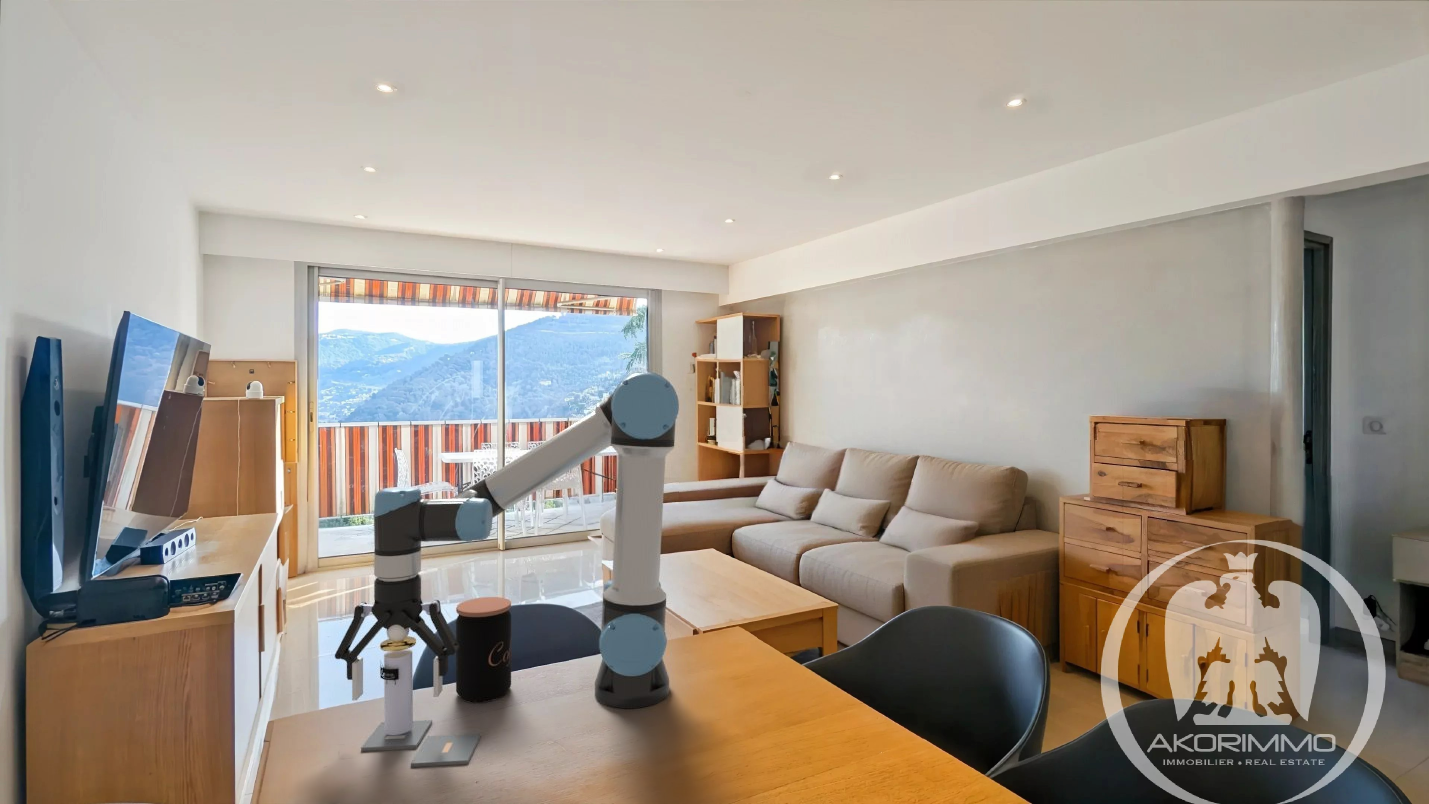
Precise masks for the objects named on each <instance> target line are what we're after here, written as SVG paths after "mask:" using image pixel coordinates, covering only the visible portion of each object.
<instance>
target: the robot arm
mask: <svg viewBox="0 0 1429 804" xmlns="http://www.w3.org/2000/svg"><path fill="white" fill-rule="evenodd" d="M678 396H679V395H677V391H676V390H675V388H674V386H673V385H672V384H671V383H670V381H669V380H668V379H666V378H665V377H664V376H662V375H660V374H658V373H656V372H649V371H643V372H642V371H640V372H639V371H637V372H634V373H632V374H629V375H627V376H626V377H625V378H623V379H622V380H621V381H620V382H619V384H617V386H616V387H615V389H614V391H613V392H612V393H611V394H610V395H609V396H607V397H606V398H605V399H603V400H601V401H599V402H598V403H597V404H596V406H595V410H594V411H593V412H591V413H590V414H588V415H586V416H584V417H583V418H581V419H580V420H578V421H576V422H574V424H572V425H570V426H568V427H566V428H565V429H563V430H561V431H560V432H558V433H556V435H554V436H552V437H551V438H549V439H547V440H545V441H543V442H541V443H540V444H539V445H537V446H535V447H534V448H532V449H531V450H529V451H527V452H526V453H523V454H522V455H521V456H519V457H517V458H515V459H514V460H513V461H511V462H509V463H508V464H506V465H504V466H502V467H501V468H500V469H498V470H496V471H495V472H493V473H491V474H490V475H488V476H486V477H485V478H484V479H482V480H480V481H478V482H476V483H475V484H474V485H472V486H469V487H467V488H466V489H464V490H463V491H461V492H459V494H457V495H455V496H453V497H452V498H432V499H431V498H423V496H422V492H421V491H422V490H421V488H419V487H416V486H396V487H394V486H393V487H387V488H386V487H385V488H382V489H380V490H379V491H377V492H376V493H375V498H374V512H373V517H372V518H373V533H374V534H373V535H374V537H373V538H374V554H373V555H374V556H373V557H374V560H373V564H374V566H373V567H374V568H373V571H374V572H373V575H374V576H375V577H376V578H375V580H373V581H374V583H373V587H374V588H373V589H374V591H373V592H374V594H373V597H374V603H373V604H368V603H367V602H366V601H362V602H360V603H359V604H358V605H356V606H355V607H354V611H353V619H352V620H351V622H350V625H349V627H348V628H347V631H346V632H345V634H344V636H343V638H342V640H341V641H340V643H339V646H338V648H337V650H336V652H335V654H334V659H336V660H343V661H345V662H346V678H347V680H348V681H351V684H352V685H351V688H352V690H351V693H352V694H351V696H352V697H351V701H359V698H360V697H361V696H362V695H363V694H364V657H362V656H360V654H361V653H362V652H363V650H364V649H365V648H366V647H367V646H368V645H369V643H370V642H372V640H373V639H374V638H375V637H376V635H377V634H379V632H380V631H381V630H382V628H384V629H386V631H387V630H388V629H389V628H390V627H391V626H393V625H400V626H401V627H403V628H404V630H405V629H406V628H409V630H410V631H412V632H413V633H415V634H416V635H417V636H418V637H419V638H420V640H422V641H423V643H424V644H425V645H426V646H427V647H428V648H429V649H430V650H431V651H432V652H433V654H434V655H435V658H434V659H433V698H434V697H435V698H438V697H439V696H440V694H441V693H442V691H443V677H445V676H446V675H447V673H448V671H449V656H453V655H456V651H457V650H458V648H459V645H458V643H457V641H456V636H455V635H454V634H453V631H452V629H451V627H450V626H449V624H448V622H447V621H446V618H445V616H444V614H443V612H442V607H441V602H440V600H439V599H434V600H433V601H432V602H423V600H422V576H421V575H420V572H421V571H422V542H425V543H426V542H427V543H428V542H467V543H470V542H472V541H484V540H486V539H488V538H489V536H490V534H491V531H492V528H493V518H495V517H497V516H498V515H500V514H502V513H503V512H505V511H506V510H508V509H510V508H512V507H513V506H514V505H517V504H518V503H519V502H521V501H522V500H524V499H526V498H528V497H529V496H530V495H532V494H535V493H536V492H537V491H539V490H541V489H542V488H544V487H545V486H547V485H549V484H551V483H552V482H553V481H556V479H559V478H560V477H562V476H563V475H565V474H567V473H569V472H570V471H572V470H573V469H575V468H577V467H578V466H579V465H582V464H583V463H585V462H586V461H588V460H590V459H591V458H593V457H595V456H597V455H598V454H600V453H601V452H602V451H604V450H607V448H609V447H610V446H611V447H612V448H613V449H614V450H615V451H616V453H617V455H618V457H617V458H618V459H617V462H618V463H617V476H616V477H617V480H616V482H617V483H616V496H615V497H616V498H615V499H616V500H615V501H616V502H615V517H614V536H613V553H612V557H613V558H612V579H611V580H608V581H606V582H605V583H604V586H603V593H602V604H601V605H602V608H601V609H602V610H601V624H600V625H601V629H600V636H599V638H598V648H599V651H600V656H601V658H602V660H601V662H600V666H599V669H598V672H597V675H596V679H595V683H594V697H595V699H596V700H597V701H598V702H600V703H601V704H602V705H603V704H604V706H608V707H612V708H619V709H638V708H644V707H645V708H646V707H649V706H652V705H655V704H657V703H660V702H662V701H663V700H665V699H666V698H667V697H668V696H669V693H670V677H669V675H668V671H667V668H666V665H665V661H664V655H665V653H666V649H667V644H668V643H667V642H668V639H667V635H666V615H667V614H666V613H667V611H666V610H667V609H666V608H667V593H666V591H664V589H663V588H662V585H661V582H660V570H661V569H660V568H661V551H662V550H661V547H662V530H663V529H662V527H663V510H664V492H665V490H664V489H665V474H666V473H665V472H666V456H667V455H668V454H670V452H671V451H672V450H673V449H674V448H675V439H676V437H675V435H676V420H677V419H678V415H679V410H680V408H679V407H680V406H679V405H680V403H679V402H680V401H679V397H678ZM423 611H424V612H425V614H427V615H428V616H429V617H430V620H431V622H432V624H433V626H434V628H435V630H436V631H437V633H438V635H436V633H434V631H433V630H432V629H431V628H430V627H429V626H428V625H427V623H426V621H425V619H424V618H423V617H422V616H421V613H422V612H423ZM370 613H371V614H372V615H373V616H374V618H375V619H376V620H377V621H376V622H375V623H374V624H373V625H372V626H371V628H370V629H369V631H367V632H366V634H365V635H364V636H363V637H362V638H361V639H360V640H359V642H358V643H356V645H355V646H354V648H353V649H352V650H350V648H351V646H352V644H353V642H354V640H355V638H356V636H357V635H358V632H359V631H360V629H361V627H362V625H363V623H364V621H365V619H366V618H367V617H368V616H370ZM438 636H439V637H440V638H439V637H438ZM358 656H359V657H358Z"/></svg>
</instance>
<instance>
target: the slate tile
mask: <svg viewBox="0 0 1429 804" xmlns="http://www.w3.org/2000/svg"><path fill="white" fill-rule="evenodd" d="M481 736H482V735H481V732H480V733H477V732H476V733H461V734H444V735H443V734H440V735H438V734H437V735H427V736H426V738H425V740H424V741H423V742H422V745H421V746H420V748H419V750H417V753H416V754H415V756H414V757H413V759H412V760H411V762H410V768H419V767H435V766H438V767H439V766H454V765H455V766H456V765H468V764H469V762H470V760H471V758H472V756H473V755H474V751H475V750H476V747H477V745H478V743H479V741H480V739H481Z"/></svg>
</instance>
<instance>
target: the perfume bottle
mask: <svg viewBox="0 0 1429 804" xmlns="http://www.w3.org/2000/svg"><path fill="white" fill-rule="evenodd" d="M409 633H410V628H406V629H405V630H404V628H403V627H401V626H400V625H393V626H391V627H390V628H389V629H388V630H387V629H386V636H387V638H388V639H386V640H385V639H384V640H383V641H382V642H380V643H379V649H380V650H381V651H383V652H386V653H384V655H383V663H382V660H380V666H379V667H380V668H379V669H380V671H379V673H380V674H379V675H380V679H382V680H384V681H383V686H384V688H383V691H384V692H383V694H384V696H383V698H384V700H383V701H384V704H383V706H384V722H385V733H386V734H388V735H399V734H403V733H406V732H408V731H410V730H411V729H412V728H413V721H414V701H413V700H414V691H413V687H414V686H413V685H414V684H413V680H414V679H413V677H414V676H413V671H414V670H413V650H412V649H411V648H412V647H414V646H416V644H417V639H416V638H415V637H414V636H408V635H409Z"/></svg>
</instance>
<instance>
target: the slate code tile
mask: <svg viewBox="0 0 1429 804" xmlns="http://www.w3.org/2000/svg"><path fill="white" fill-rule="evenodd" d="M432 725H433V720H432V719H427V720H413V728H412V729H411V730H410V731H408V732H406V733H403V734H399V735H388V734H386V733H385V721H384V722H380V723H379V725H377V727H376V728H375V730H374V731H373V732H372V733H371V735H370V736H369V737H368V738H367V739H366V741H365V742H364V744H363V745H362V746H361V747H360V751H361V752H371V751H372V752H374V751H389V750H394V751H395V750H410V749H417V748H418V747H419V745H420V743H421V742H422V740H423V739H424V738H425V736H426V734H427V733H428V731H429V729H430V728H431V727H432Z"/></svg>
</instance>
